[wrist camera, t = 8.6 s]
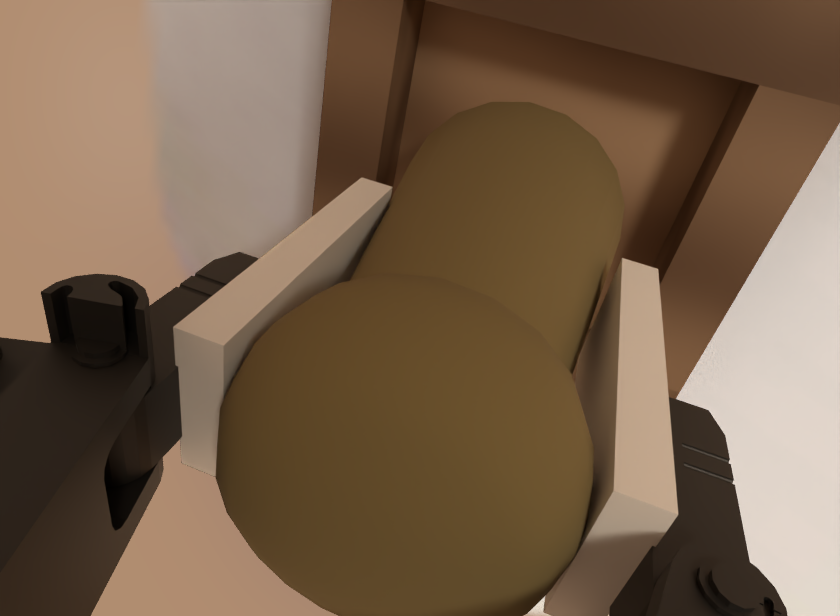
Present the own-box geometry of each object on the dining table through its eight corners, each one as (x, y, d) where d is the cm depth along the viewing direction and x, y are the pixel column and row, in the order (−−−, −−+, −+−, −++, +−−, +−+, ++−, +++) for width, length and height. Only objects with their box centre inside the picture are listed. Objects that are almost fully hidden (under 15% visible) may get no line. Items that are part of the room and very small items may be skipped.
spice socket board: (388, -272, 15) (339, -319, 12) (980, -167, 13) (1063, -197, 10) (318, 338, 26) (285, 377, 24) (628, 450, 24) (628, 506, 21)
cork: (372, 248, 18) (112, 557, 9) (456, 55, 14) (170, 233, 5) (547, 344, 18) (470, 756, 9) (676, 174, 14) (773, 565, 5)
